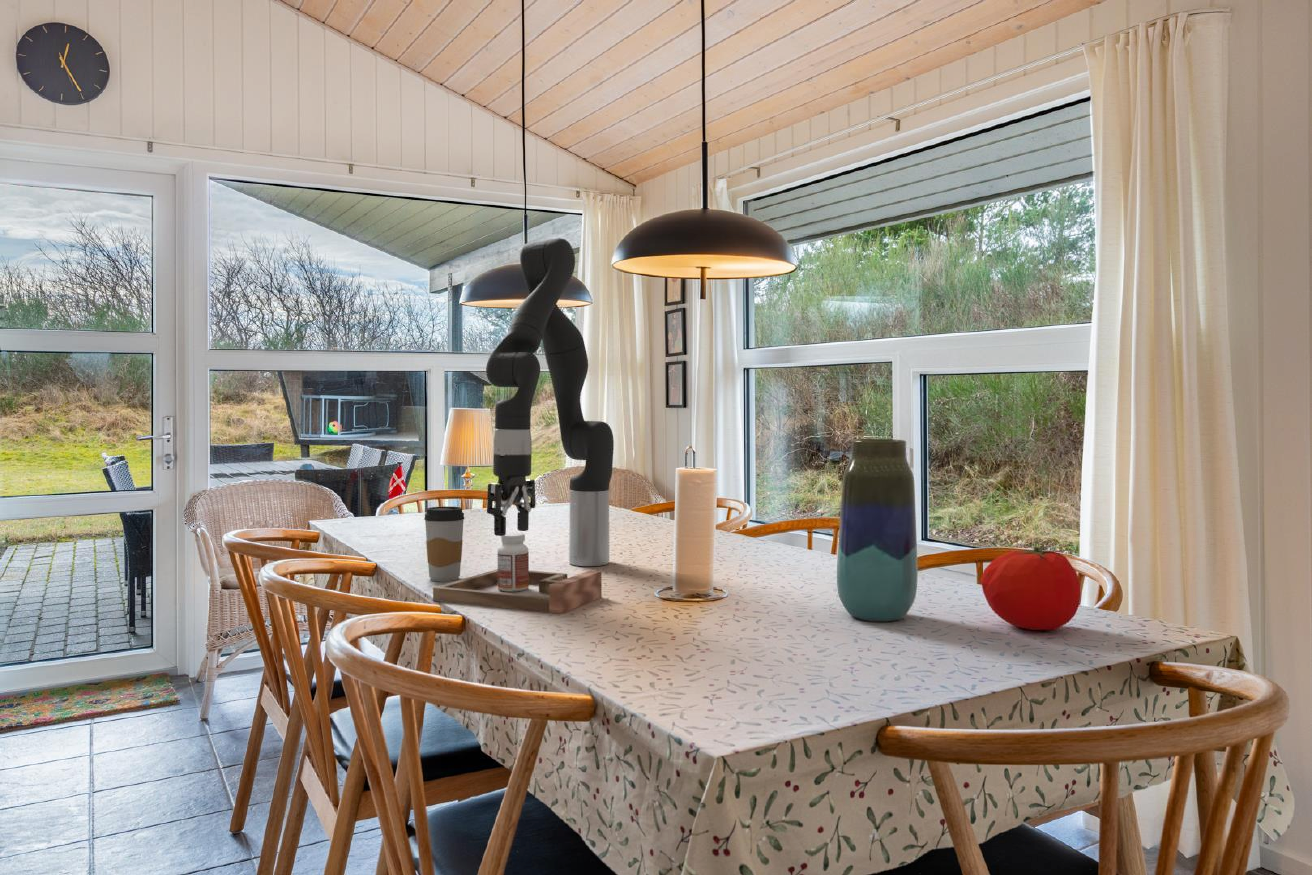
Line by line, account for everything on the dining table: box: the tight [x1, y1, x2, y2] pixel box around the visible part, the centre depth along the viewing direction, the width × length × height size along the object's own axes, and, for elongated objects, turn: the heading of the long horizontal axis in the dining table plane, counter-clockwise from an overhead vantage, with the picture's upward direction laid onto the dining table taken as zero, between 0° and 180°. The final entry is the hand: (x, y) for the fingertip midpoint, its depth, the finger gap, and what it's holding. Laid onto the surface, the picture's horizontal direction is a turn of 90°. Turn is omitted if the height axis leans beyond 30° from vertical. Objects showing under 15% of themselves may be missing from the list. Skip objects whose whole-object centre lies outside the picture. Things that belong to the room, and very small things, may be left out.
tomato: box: [980, 544, 1081, 631], centre depth 158 cm, size 16×14×14 cm
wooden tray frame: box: [432, 568, 603, 615], centre depth 183 cm, size 24×28×5 cm
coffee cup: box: [423, 506, 465, 582], centre depth 199 cm, size 8×8×15 cm
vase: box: [836, 438, 919, 623], centre depth 165 cm, size 14×14×31 cm
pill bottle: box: [496, 532, 530, 593], centre depth 188 cm, size 6×6×11 cm
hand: (511, 533), depth 188 cm, fingers open, 8 cm apart
